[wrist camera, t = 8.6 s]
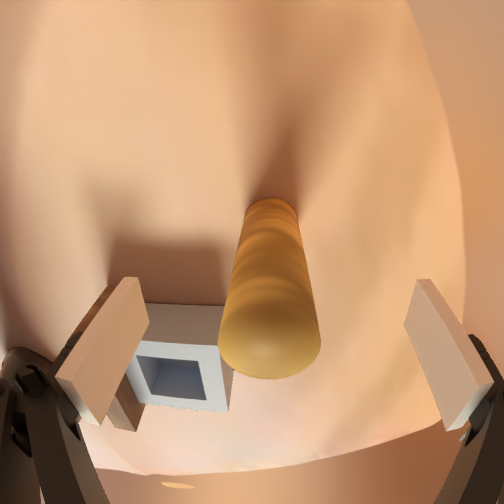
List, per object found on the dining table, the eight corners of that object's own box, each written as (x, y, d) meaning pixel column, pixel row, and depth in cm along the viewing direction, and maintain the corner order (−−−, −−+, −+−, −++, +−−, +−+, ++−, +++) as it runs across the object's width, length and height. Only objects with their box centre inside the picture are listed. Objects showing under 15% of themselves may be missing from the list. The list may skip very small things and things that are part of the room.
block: (152, 368, 31) (139, 402, 27) (131, 302, 27) (111, 336, 23) (233, 374, 31) (228, 412, 26) (226, 306, 27) (218, 345, 22)
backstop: (137, 373, 32) (114, 427, 25) (106, 286, 27) (66, 341, 20) (156, 375, 32) (135, 432, 25) (128, 287, 27) (91, 346, 20)
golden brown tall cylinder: (244, 247, 24) (222, 378, 13) (242, 197, 22) (212, 305, 11) (296, 247, 24) (315, 378, 12) (298, 197, 22) (326, 305, 11)
